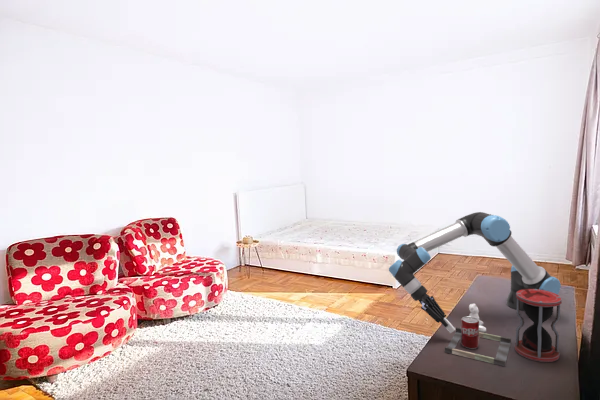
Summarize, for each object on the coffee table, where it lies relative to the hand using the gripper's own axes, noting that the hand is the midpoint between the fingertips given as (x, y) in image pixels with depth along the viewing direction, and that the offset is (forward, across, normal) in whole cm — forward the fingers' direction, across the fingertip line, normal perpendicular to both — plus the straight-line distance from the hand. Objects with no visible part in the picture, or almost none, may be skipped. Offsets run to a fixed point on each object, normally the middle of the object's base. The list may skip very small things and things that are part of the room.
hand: (453, 331), depth 176 cm
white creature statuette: (+8, -19, 0) cm, 21 cm away
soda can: (+9, 0, +1) cm, 9 cm away
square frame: (+11, 0, +4) cm, 12 cm away
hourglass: (+26, -7, +19) cm, 33 cm away
